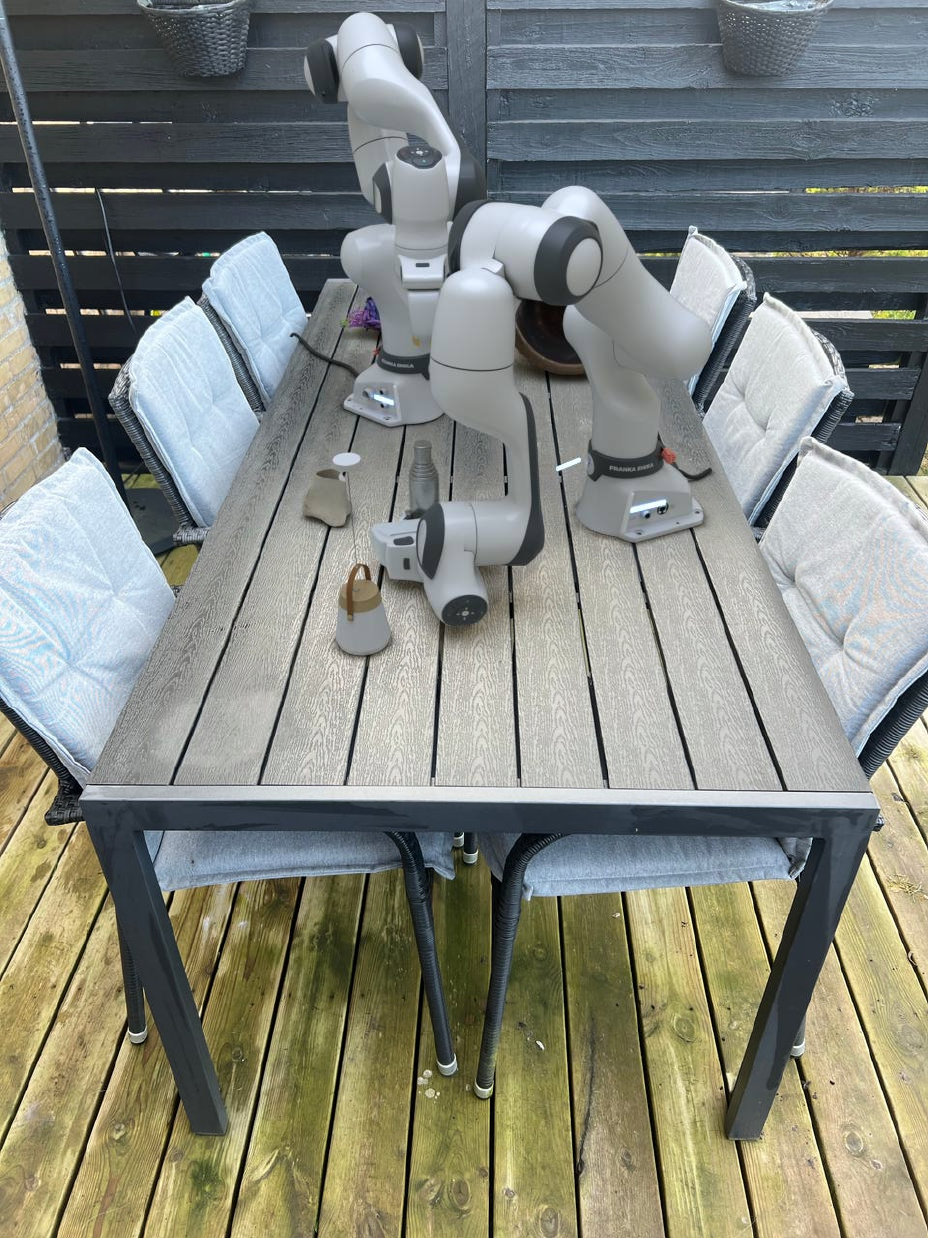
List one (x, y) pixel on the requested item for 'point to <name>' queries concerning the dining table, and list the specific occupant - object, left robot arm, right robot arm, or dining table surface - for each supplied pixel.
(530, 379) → the dining table surface
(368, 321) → the decorative ornament
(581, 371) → the pot
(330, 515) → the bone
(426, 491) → the bottle
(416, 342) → the cap
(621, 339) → the right robot arm
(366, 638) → the pendant light
